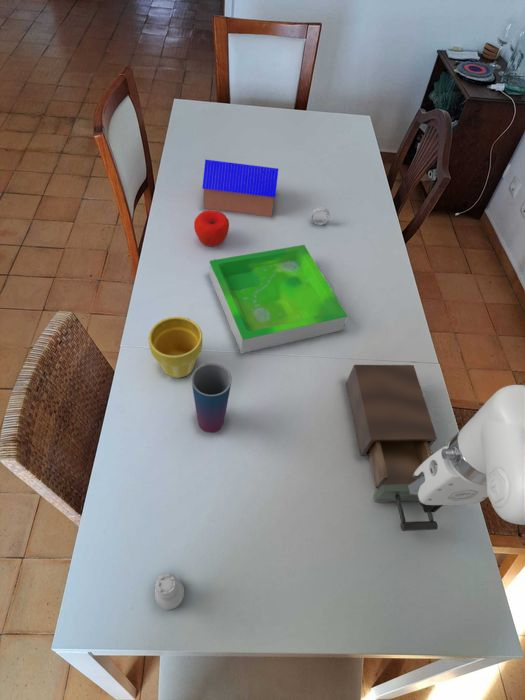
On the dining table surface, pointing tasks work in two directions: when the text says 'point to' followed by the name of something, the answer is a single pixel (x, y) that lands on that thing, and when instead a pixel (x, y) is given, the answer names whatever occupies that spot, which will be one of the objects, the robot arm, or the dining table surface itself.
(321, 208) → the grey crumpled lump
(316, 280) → the tray
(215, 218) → the apple
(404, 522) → the drawer
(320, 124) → the dining table surface
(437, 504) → the robot arm
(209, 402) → the cup
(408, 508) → the dining table surface
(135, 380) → the dining table surface
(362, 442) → the cabinet
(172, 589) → the rook chess piece
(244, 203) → the house
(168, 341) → the flower pot
